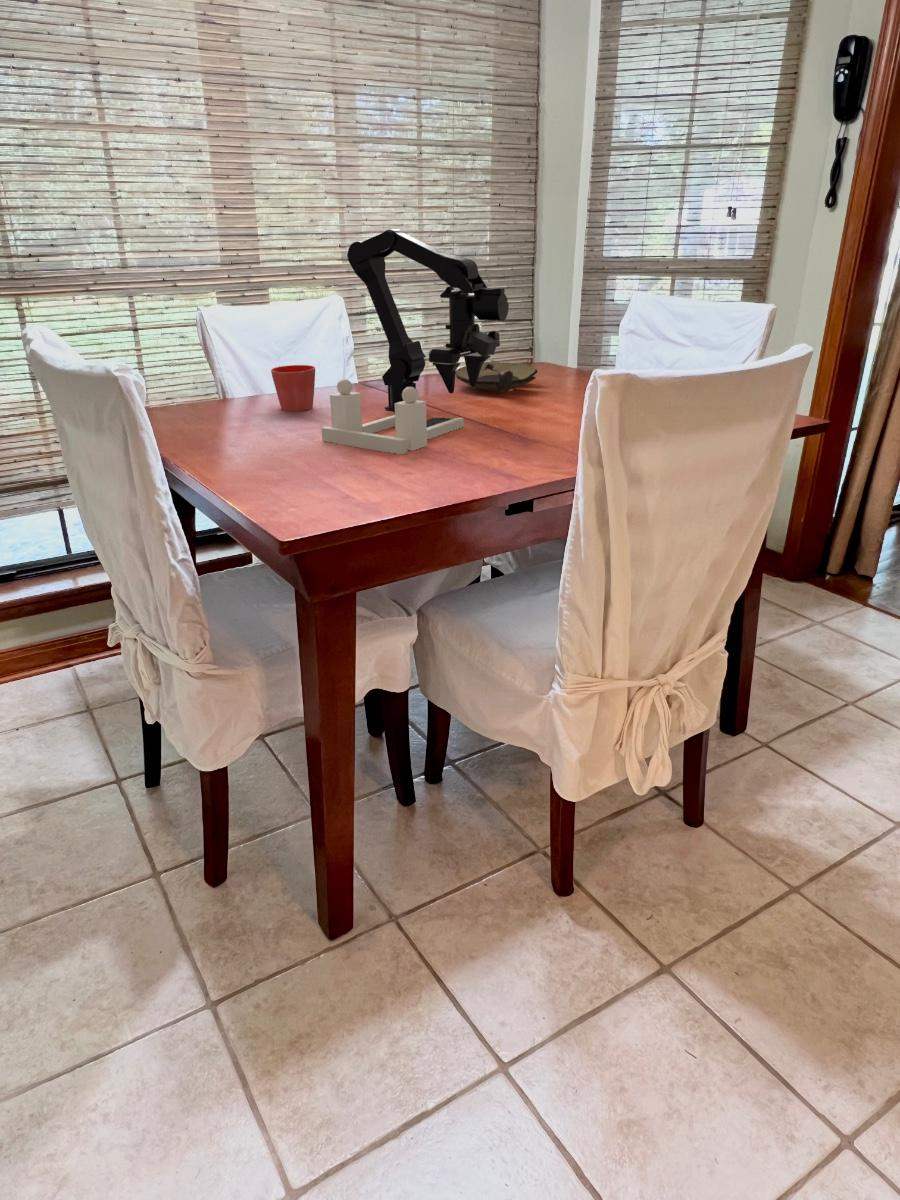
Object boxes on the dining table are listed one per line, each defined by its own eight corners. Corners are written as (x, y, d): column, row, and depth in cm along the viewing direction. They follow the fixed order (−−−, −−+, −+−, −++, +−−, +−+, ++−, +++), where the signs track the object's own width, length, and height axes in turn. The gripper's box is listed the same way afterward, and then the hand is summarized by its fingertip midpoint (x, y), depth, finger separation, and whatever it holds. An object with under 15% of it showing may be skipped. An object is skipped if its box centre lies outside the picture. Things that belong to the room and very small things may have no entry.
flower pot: (266, 411, 198) (261, 370, 194) (290, 402, 207) (286, 363, 203) (303, 414, 195) (300, 372, 190) (326, 405, 204) (323, 365, 200)
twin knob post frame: (322, 441, 170) (317, 382, 165) (399, 417, 190) (397, 365, 185) (402, 454, 159) (399, 392, 154) (474, 428, 179) (475, 372, 174)
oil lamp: (543, 382, 231) (544, 354, 228) (526, 402, 205) (526, 371, 201) (466, 379, 236) (466, 352, 233) (440, 399, 210) (439, 369, 207)
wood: (435, 421, 188) (435, 407, 187) (463, 423, 185) (463, 410, 184) (381, 441, 171) (380, 427, 170) (410, 445, 168) (410, 430, 166)
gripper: (469, 325, 172) (469, 400, 178) (513, 317, 186) (512, 386, 192) (426, 322, 178) (428, 395, 184) (473, 315, 192) (473, 382, 198)
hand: (462, 389), depth 189 cm, fingers open, 9 cm apart
